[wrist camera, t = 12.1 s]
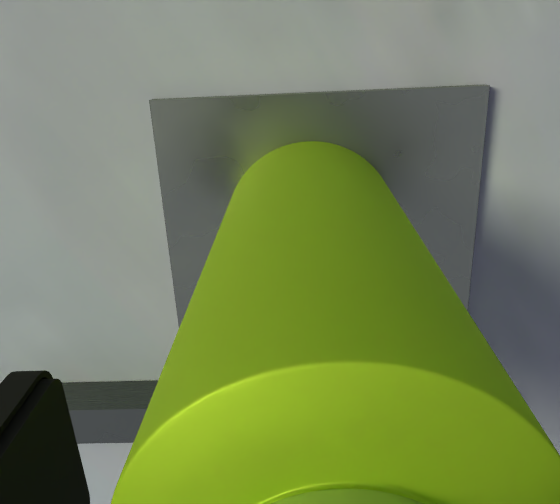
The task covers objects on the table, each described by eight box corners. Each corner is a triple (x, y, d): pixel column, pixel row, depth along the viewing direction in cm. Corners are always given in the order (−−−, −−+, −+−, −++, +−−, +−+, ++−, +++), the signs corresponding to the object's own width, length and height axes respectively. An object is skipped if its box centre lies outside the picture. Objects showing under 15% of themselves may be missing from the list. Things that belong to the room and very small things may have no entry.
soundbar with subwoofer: (-47, 422, 23) (-74, 452, 21) (-152, 112, 18) (-198, 120, 16) (466, 411, 22) (480, 441, 20) (501, 83, 17) (523, 88, 16)
